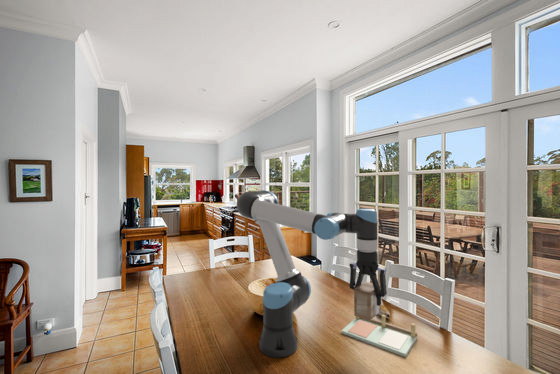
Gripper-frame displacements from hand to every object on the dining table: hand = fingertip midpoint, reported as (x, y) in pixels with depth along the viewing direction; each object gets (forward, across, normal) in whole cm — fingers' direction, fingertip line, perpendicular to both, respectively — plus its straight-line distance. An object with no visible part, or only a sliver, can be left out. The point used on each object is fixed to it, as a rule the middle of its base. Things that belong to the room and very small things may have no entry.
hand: (367, 310), depth 104 cm
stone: (+16, +7, -34) cm, 38 cm away
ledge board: (+16, +1, -14) cm, 21 cm away
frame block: (+1, 0, 0) cm, 1 cm away
